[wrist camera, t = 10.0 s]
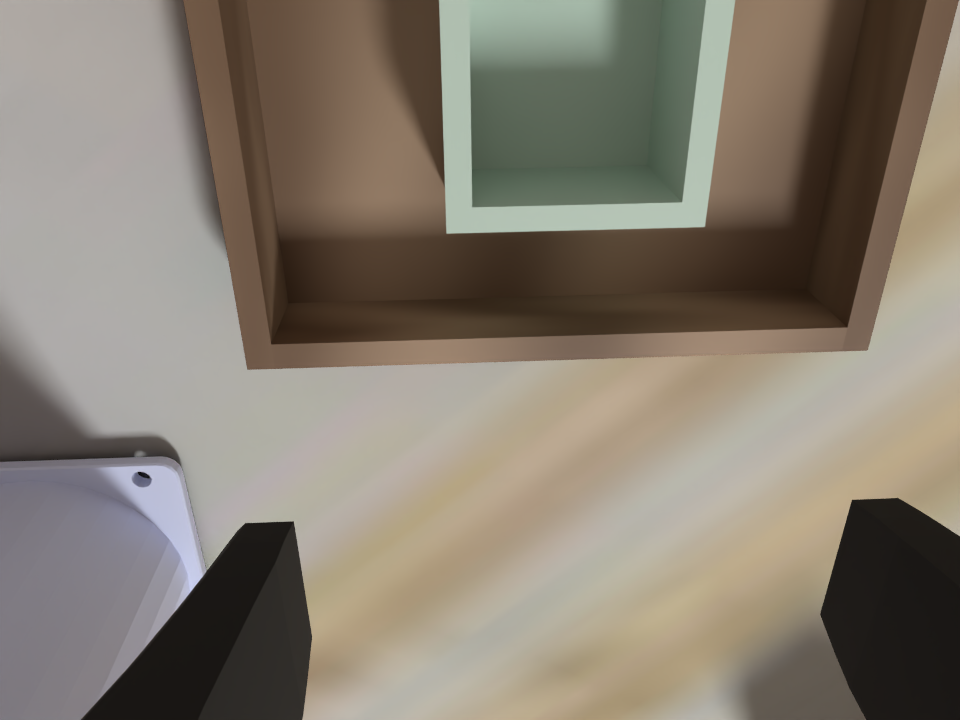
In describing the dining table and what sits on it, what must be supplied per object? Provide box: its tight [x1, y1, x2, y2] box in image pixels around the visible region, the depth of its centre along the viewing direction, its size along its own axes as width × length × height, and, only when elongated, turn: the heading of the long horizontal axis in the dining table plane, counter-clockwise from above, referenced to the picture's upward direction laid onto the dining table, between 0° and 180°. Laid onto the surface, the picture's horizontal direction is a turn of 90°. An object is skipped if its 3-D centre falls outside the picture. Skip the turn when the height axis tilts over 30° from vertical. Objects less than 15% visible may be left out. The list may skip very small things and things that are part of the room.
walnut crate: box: [183, 0, 959, 370], centre depth 15 cm, size 14×14×3 cm
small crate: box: [439, 0, 735, 234], centre depth 15 cm, size 5×7×3 cm
